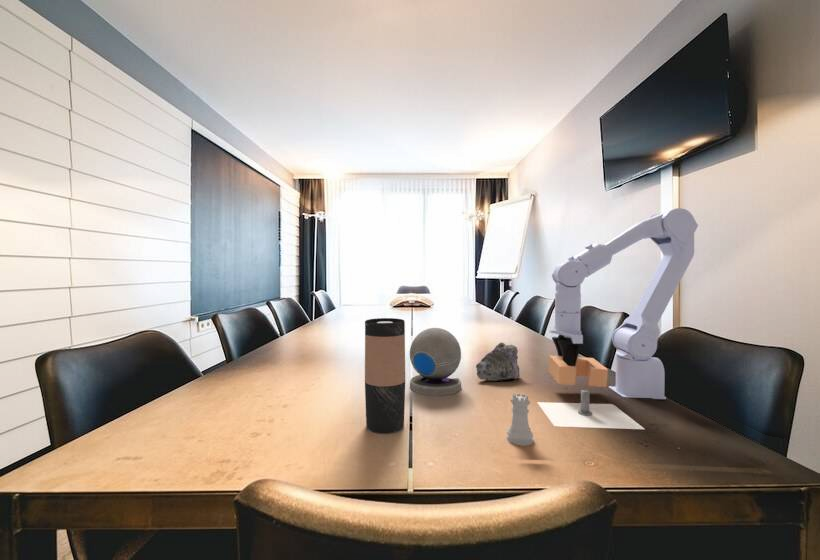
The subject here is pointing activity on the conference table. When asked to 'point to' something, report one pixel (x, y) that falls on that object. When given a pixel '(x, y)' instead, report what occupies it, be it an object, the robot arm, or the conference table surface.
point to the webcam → (435, 362)
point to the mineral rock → (499, 364)
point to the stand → (587, 414)
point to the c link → (578, 371)
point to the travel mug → (385, 374)
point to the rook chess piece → (520, 422)
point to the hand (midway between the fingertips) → (567, 368)
